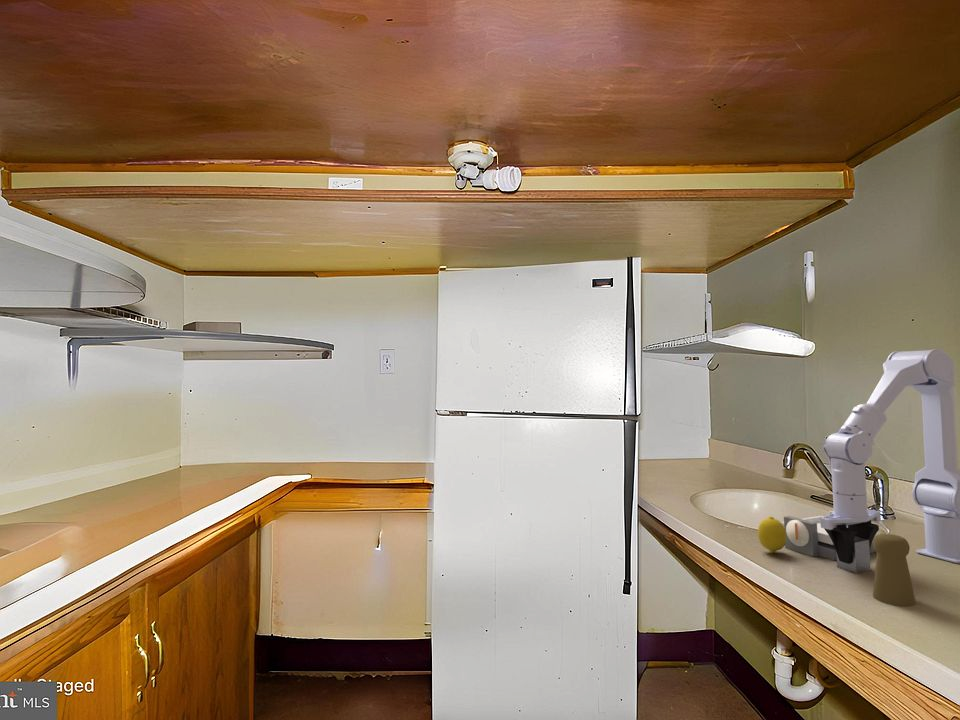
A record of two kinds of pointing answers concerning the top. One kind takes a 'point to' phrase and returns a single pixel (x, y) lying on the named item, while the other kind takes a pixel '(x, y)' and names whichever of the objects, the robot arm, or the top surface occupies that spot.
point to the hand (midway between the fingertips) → (853, 560)
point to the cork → (892, 571)
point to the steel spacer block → (858, 557)
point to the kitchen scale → (810, 537)
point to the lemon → (772, 534)
